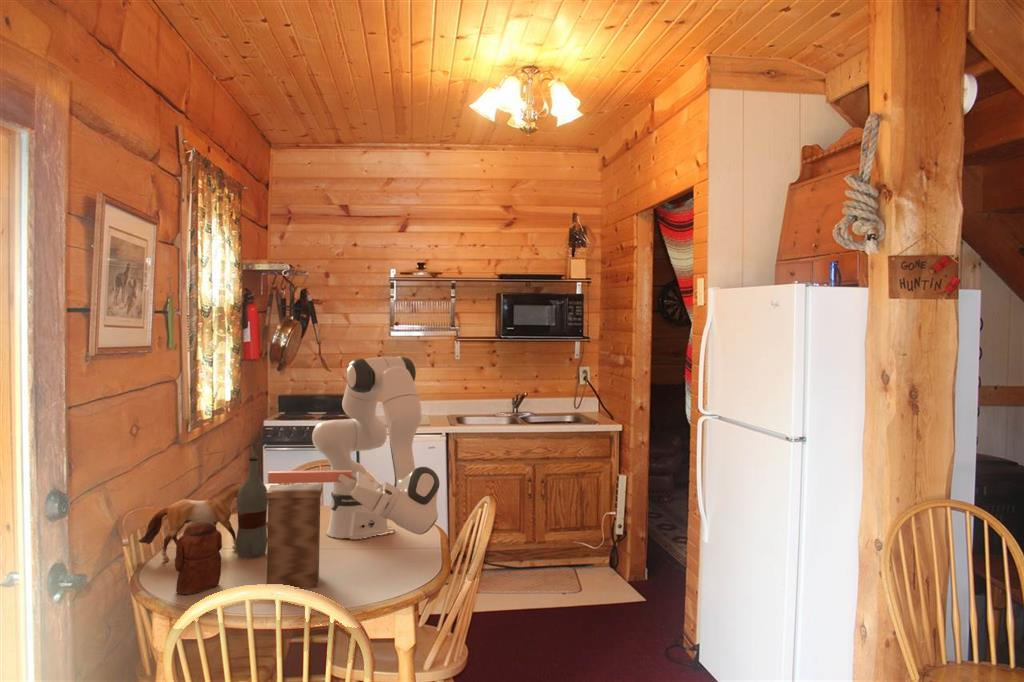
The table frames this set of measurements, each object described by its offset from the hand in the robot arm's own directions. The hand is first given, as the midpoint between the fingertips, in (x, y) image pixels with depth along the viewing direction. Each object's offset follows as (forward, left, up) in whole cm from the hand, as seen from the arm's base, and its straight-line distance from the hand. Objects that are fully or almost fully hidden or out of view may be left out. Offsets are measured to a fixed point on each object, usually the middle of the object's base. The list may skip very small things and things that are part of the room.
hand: (339, 474), depth 206 cm
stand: (+11, -4, -30) cm, 32 cm away
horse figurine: (+30, -45, -30) cm, 62 cm away
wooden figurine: (+34, -11, -30) cm, 47 cm away
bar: (+7, -3, -2) cm, 8 cm away
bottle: (+15, -35, -30) cm, 48 cm away
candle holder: (+1, -75, -30) cm, 81 cm away
